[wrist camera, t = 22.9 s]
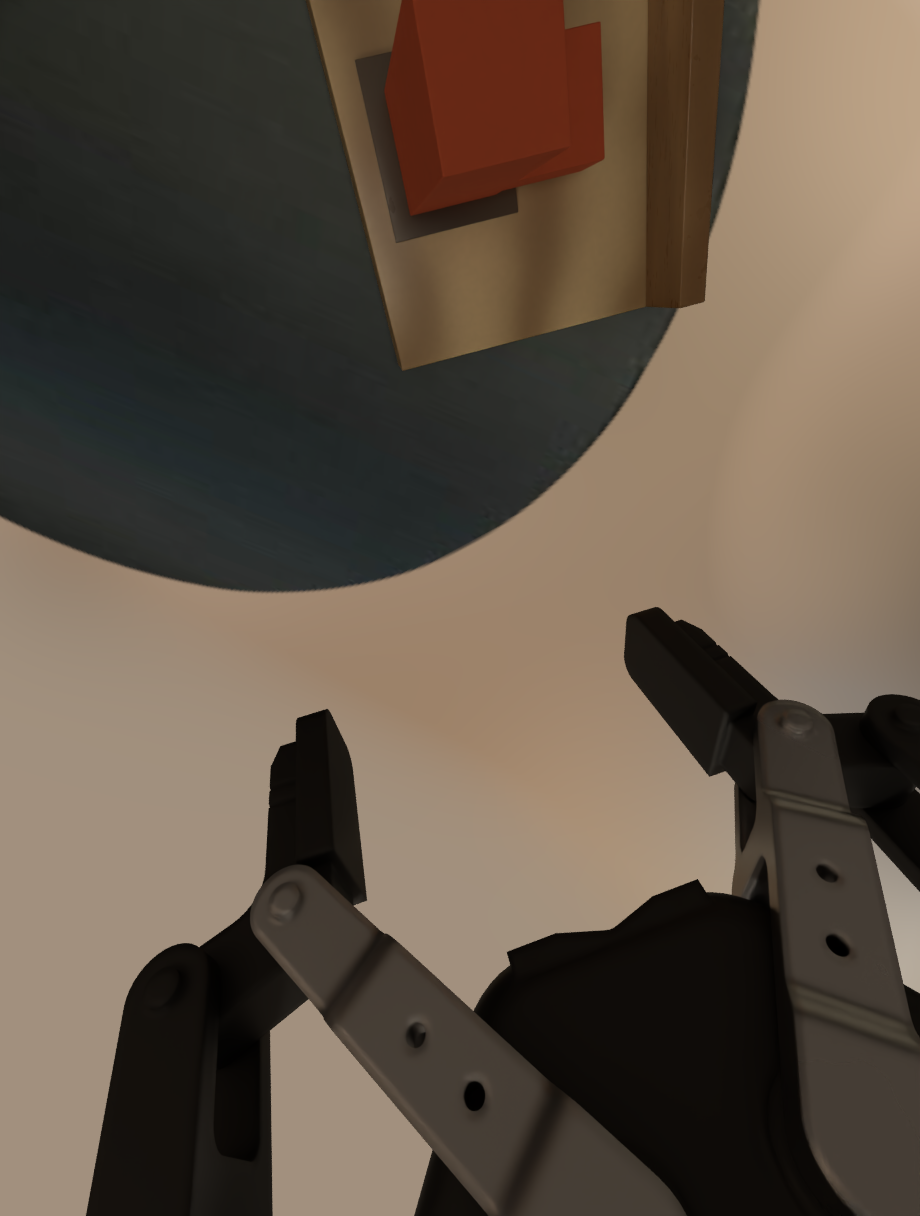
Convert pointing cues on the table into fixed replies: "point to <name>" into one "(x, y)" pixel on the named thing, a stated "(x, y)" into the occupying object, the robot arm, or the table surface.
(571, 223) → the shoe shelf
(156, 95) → the table surface
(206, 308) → the table surface
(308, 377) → the table surface
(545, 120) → the boot
